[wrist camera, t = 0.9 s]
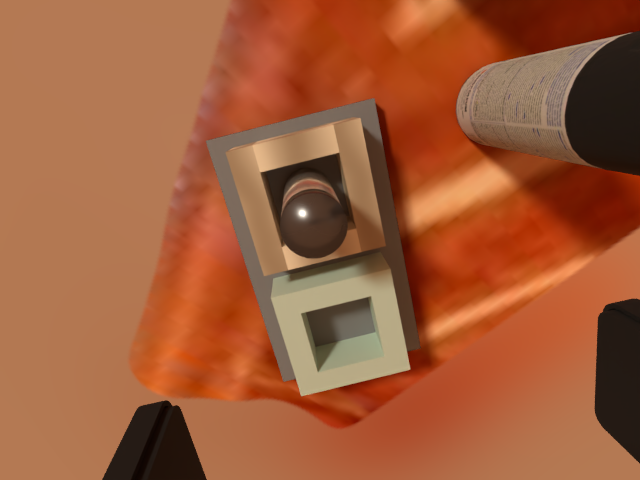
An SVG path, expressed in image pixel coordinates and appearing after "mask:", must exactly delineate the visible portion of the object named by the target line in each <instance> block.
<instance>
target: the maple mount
mask: <svg viewBox="0 0 640 480" xmlns="http://www.w3.org/2000/svg"><path fill="white" fill-rule="evenodd" d="M332 154H336V158H337V162H338V166H339V171H340V175H341V180H342V184H343V189H344V193H345V198H346V202H347V207H348V211H349V216H347V223H348V229H347V234H346V237H345V240H344V241H343V243H342V244H341V246H340V247H339V248H338V249H337V250H336V251H335V252H333V253H332V254H330V255H328V256H326V257H322V258H317V259H310V258H304V257H301V256H299V255H297V254H295V253H294V252H292V251H291V250H290V249H289V248H288V247H287V246H286V244H285V243H284V241H283V239H282V236H281V232H280V220H279V216H278V213H277V209H276V206H275V202H274V199H273V195H272V192H271V188H270V185H269V181H268V178H267V174H266V171H268V170H272V169H276V168H280V167H284V166H288V165H292V164H296V163H300V162H304V161H308V160H312V159H316V158H320V157H324V156H328V155H332ZM226 156H227V159H228V162H229V165H230V168H231V172H232V175H233V178H234V181H235V185H236V188H237V191H238V194H239V197H240V201H241V204H242V207H243V210H244V213H245V217H246V220H247V223H248V226H249V229H250V233H251V236H252V239H253V242H254V246H255V249H256V252H257V255H258V258H259V262H260V265H261V268H262V271H263V274H264V276H267V275H271V274H275V273H279V272H283V271H287V270H291V269H295V268H299V267H303V266H307V265H311V264H315V263H319V262H323V261H327V260H331V259H335V258H339V257H344V256H348V255H352V254H356V253H360V252H364V251H368V250H372V249H376V248H380V247H384V246H386V244H385V239H384V234H383V229H382V224H381V219H380V213H379V208H378V203H377V198H376V193H375V188H374V183H373V178H372V173H371V168H370V163H369V158H368V153H367V148H366V143H365V138H364V133H363V128H362V123H361V118H356V117H351V118H347V119H343V120H340V121H336V122H332V123H328V124H324V125H320V126H316V127H312V128H308V129H304V130H300V131H296V132H292V133H288V134H284V135H280V136H276V137H272V138H268V139H265V140H261V141H257V142H253V143H249V144H245V145H241V146H237V147H233V148H232V149H230V150H228V151H227V152H226Z"/></svg>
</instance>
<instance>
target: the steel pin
mask: <svg viewBox="0 0 640 480" xmlns="http://www.w3.org/2000/svg"><path fill="white" fill-rule="evenodd" d="M347 229H348V223H347V217H346V214H345V212H344V210H343V208H342V206H341V204H340V202H339V200H338V198H337V196H336V194H335V192H334V190H333V188H332V186H331V184H330V182H329V180H328V178H327V177H326V176H325V174H323V173H322V172H321V171H319V170H317V169H314V168H302V169H299V170H297V171H295V172H294V173H292V174H291V175H290V176H289V178H288V179H287V181H286V184H285V188H284V196H283V204H282V212H281V220H280V232H281V236H282V239H283V241H284V243H285V244H286V246H287V247H288V248H289V249H290V250H291V251H292V252H294V253H295V254H297V255H299V256H301V257H304V258H310V259H317V258H322V257H326V256H328V255H330V254H332V253H333V252H335V251H336V250H337V249H338V248H339V247H340V246H341V244H342V243H343V241H344V240H345V237H346V234H347Z"/></svg>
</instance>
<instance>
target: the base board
mask: <svg viewBox="0 0 640 480" xmlns="http://www.w3.org/2000/svg"><path fill="white" fill-rule="evenodd" d="M351 117H356V118H361V123H362V128H363V133H364V138H365V143H366V148H367V153H368V158H369V163H370V168H371V173H372V178H373V183H374V188H375V193H376V198H377V203H378V208H379V213H380V219H381V224H382V229H383V234H384V239H385V244H386V246H384V247H380V248H376V249H372V250H368V251H364V252H360V253H356V254H352V255H348V256H344V257H339V258H335V259H331V260H327V261H323V262H319V263H315V264H311V265H307V266H303V267H299V268H295V269H291V270H287V271H283V272H279V273H275V274H271V275H267V276H264V274H263V271H262V268H261V265H260V262H259V258H258V255H257V252H256V249H255V246H254V242H253V239H252V236H251V233H250V229H249V226H248V223H247V220H246V217H245V213H244V210H243V207H242V204H241V201H240V197H239V194H238V191H237V188H236V185H235V181H234V178H233V175H232V172H231V168H230V165H229V162H228V159H227V156H226V152H227V151H228V150H230V149H232V148H233V147H237V146H241V145H245V144H249V143H253V142H257V141H261V140H265V139H268V138H272V137H276V136H280V135H284V134H288V133H292V132H296V131H300V130H304V129H308V128H312V127H316V126H320V125H324V124H328V123H332V122H336V121H340V120H343V119H347V118H351ZM206 143H207V146H208V149H209V153H210V156H211V159H212V162H213V165H214V168H215V171H216V174H217V177H218V180H219V183H220V187H221V190H222V193H223V196H224V199H225V202H226V205H227V208H228V211H229V214H230V217H231V220H232V224H233V227H234V230H235V233H236V236H237V239H238V242H239V245H240V248H241V251H242V254H243V257H244V261H245V264H246V267H247V270H248V273H249V276H250V279H251V282H252V285H253V288H254V291H255V294H256V298H257V301H258V304H259V307H260V310H261V313H262V316H263V319H264V322H265V325H266V328H267V331H268V335H269V338H270V341H271V344H272V347H273V350H274V353H275V356H276V359H277V362H278V365H279V368H280V372H281V375H282V378H283V381H288V380H293V379H296V377H295V374H294V371H293V368H292V364H291V361H290V358H289V355H288V351H287V348H286V345H285V342H284V339H283V335H282V332H281V329H280V326H279V323H278V319H277V316H276V313H275V310H274V307H273V303H272V300H271V293H272V285H273V278H277V277H281V276H285V275H289V274H293V273H298V272H302V271H306V270H310V269H314V268H318V267H322V266H326V265H330V264H334V263H338V262H342V261H346V260H350V259H354V258H358V257H362V256H366V255H370V254H374V253H378V252H381V254H382V256H383V257H384V259H385V260H386V262H387V264H388V265H389V267H390V269H391V274H392V279H393V284H394V289H395V294H396V299H397V304H398V309H399V314H400V319H401V324H402V329H403V334H404V339H405V344H406V349H407V352H408V351H412V350H416V349H420V348H421V347H420V342H419V336H418V331H417V326H416V320H415V315H414V309H413V304H412V299H411V293H410V288H409V282H408V277H407V272H406V266H405V261H404V255H403V250H402V245H401V239H400V234H399V228H398V223H397V218H396V212H395V207H394V201H393V196H392V191H391V185H390V180H389V175H388V169H387V164H386V158H385V153H384V148H383V142H382V137H381V131H380V126H379V121H378V115H377V110H376V104H375V99H374V98H373V99H368V100H365V101H361V102H357V103H353V104H349V105H345V106H341V107H337V108H333V109H329V110H325V111H321V112H317V113H313V114H309V115H305V116H301V117H298V118H294V119H290V120H286V121H282V122H278V123H274V124H270V125H266V126H262V127H258V128H254V129H250V130H246V131H242V132H238V133H235V134H231V135H227V136H223V137H219V138H215V139H211V140H208V141H206ZM302 168H314V169H317V170H319V171H321V172H322V173H323V174H325V176H326V177H327V178H328V180H329V182H330V184H331V186H332V188H333V190H334V192H335V194H336V196H337V198H338V200H339V202H340V204H341V206H342V208H343V210H344V212H345V214H346V217H347V216H349V211H348V207H347V202H346V198H345V193H344V189H343V184H342V180H341V175H340V171H339V166H338V162H337V158H336V154H332V155H328V156H324V157H320V158H316V159H312V160H308V161H304V162H300V163H296V164H292V165H288V166H284V167H280V168H276V169H272V170H268V171H266V174H267V178H268V181H269V185H270V188H271V192H272V195H273V199H274V202H275V206H276V209H277V213H278V216H279V220H281V212H282V204H283V196H284V188H285V184H286V181H287V179H288V178H289V176H290V175H291V174H292V173H294V172H295V171H297V170H299V169H302ZM306 315H307V318H308V322H309V326H310V329H311V333H312V336H313V340H314V343H315V347H317V346H321V345H325V344H330V343H334V342H338V341H342V340H346V339H350V338H354V337H358V336H362V335H366V334H370V333H375V332H376V331H375V327H374V322H373V318H372V314H371V309H370V305H369V300H368V297H366V298H362V299H358V300H354V301H349V302H345V303H341V304H337V305H333V306H329V307H325V308H321V309H317V310H313V311H309V312H306Z"/></svg>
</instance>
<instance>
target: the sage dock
mask: <svg viewBox="0 0 640 480" xmlns="http://www.w3.org/2000/svg"><path fill="white" fill-rule="evenodd" d="M366 297H368V300H369V305H370V309H371V314H372V318H373V322H374V327H375V331H376V332H375V333H370V334H366V335H362V336H358V337H354V338H350V339H346V340H342V341H338V342H334V343H330V344H325V345H321V346H317V347H315V343H314V340H313V336H312V333H311V329H310V326H309V322H308V318H307V315H306V312H309V311H313V310H317V309H321V308H325V307H329V306H333V305H337V304H341V303H345V302H349V301H354V300H358V299H362V298H366ZM271 300H272V303H273V307H274V310H275V313H276V316H277V319H278V323H279V326H280V329H281V332H282V335H283V339H284V342H285V345H286V348H287V351H288V355H289V358H290V361H291V364H292V368H293V371H294V374H295V377H296V380H297V384H298V387H299V390H300V393H301V396H304V395H308V394H312V393H317V392H321V391H325V390H329V389H333V388H337V387H341V386H345V385H350V384H354V383H358V382H362V381H366V380H370V379H374V378H378V377H383V376H387V375H391V374H395V373H399V372H403V371H407V370H411V369H410V364H409V359H408V354H407V349H406V344H405V339H404V334H403V329H402V324H401V319H400V314H399V309H398V304H397V299H396V294H395V289H394V284H393V279H392V274H391V269H390V267H389V265H388V264H387V262H386V260H385V259H384V257H383V256H382V254H381V252H378V253H374V254H370V255H366V256H362V257H358V258H354V259H350V260H346V261H342V262H338V263H334V264H330V265H326V266H322V267H318V268H314V269H310V270H306V271H302V272H298V273H293V274H289V275H285V276H281V277H277V278H273V285H272V293H271Z"/></svg>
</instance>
